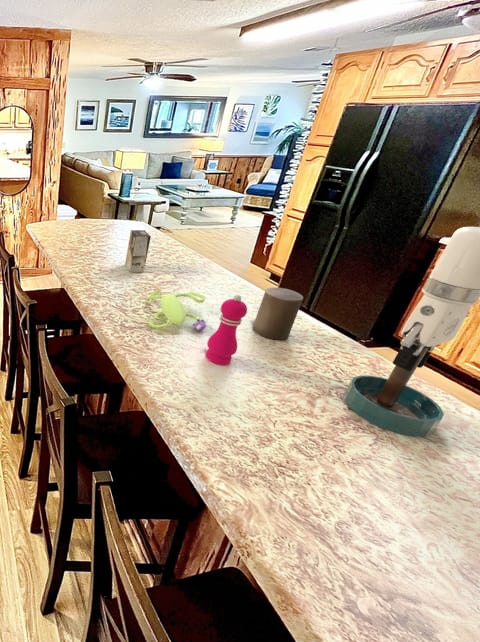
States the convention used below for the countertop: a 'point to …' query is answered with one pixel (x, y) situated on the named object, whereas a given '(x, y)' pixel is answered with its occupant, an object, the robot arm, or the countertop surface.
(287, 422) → the countertop surface
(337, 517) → the countertop surface
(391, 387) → the stick
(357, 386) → the ring
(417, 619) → the countertop surface
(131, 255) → the coffee box
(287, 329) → the pillar candle
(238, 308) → the pepper mill
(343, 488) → the countertop surface
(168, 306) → the figurine
